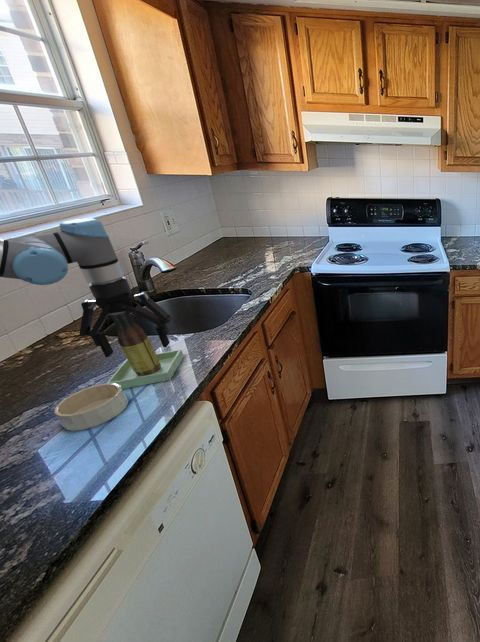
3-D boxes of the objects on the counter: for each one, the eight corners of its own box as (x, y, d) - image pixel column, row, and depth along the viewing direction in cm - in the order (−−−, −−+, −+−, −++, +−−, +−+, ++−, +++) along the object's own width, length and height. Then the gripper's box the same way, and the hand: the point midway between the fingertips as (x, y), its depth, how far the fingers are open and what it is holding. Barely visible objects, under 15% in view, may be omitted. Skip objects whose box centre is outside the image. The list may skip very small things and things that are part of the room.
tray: (109, 391, 99) (105, 384, 98) (129, 365, 110) (126, 358, 109) (170, 379, 103) (167, 372, 102) (183, 355, 114) (181, 349, 113)
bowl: (51, 436, 84) (41, 421, 82) (80, 403, 95) (72, 389, 93) (115, 422, 88) (107, 408, 86) (136, 392, 98) (129, 378, 96)
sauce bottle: (150, 363, 110) (123, 304, 101) (167, 365, 109) (141, 305, 100) (128, 376, 104) (98, 314, 96) (146, 378, 103) (117, 316, 94)
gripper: (167, 269, 101) (192, 335, 110) (55, 282, 94) (91, 351, 103) (158, 277, 95) (185, 347, 104) (36, 292, 87) (77, 366, 96)
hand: (138, 349), depth 103 cm, fingers open, 13 cm apart
